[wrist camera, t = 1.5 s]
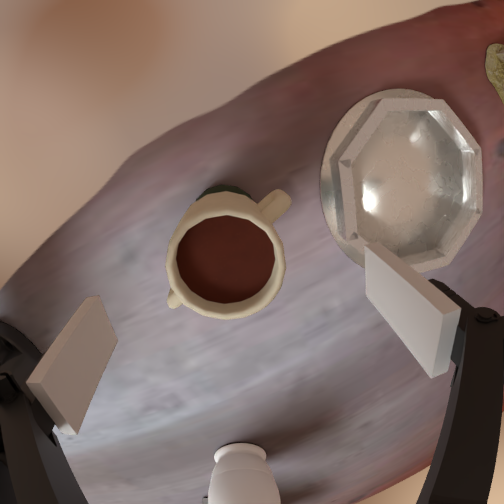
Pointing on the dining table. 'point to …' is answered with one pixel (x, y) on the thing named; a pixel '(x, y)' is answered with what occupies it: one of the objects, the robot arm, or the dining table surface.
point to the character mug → (227, 253)
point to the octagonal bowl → (402, 179)
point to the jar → (242, 477)
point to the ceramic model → (496, 67)
